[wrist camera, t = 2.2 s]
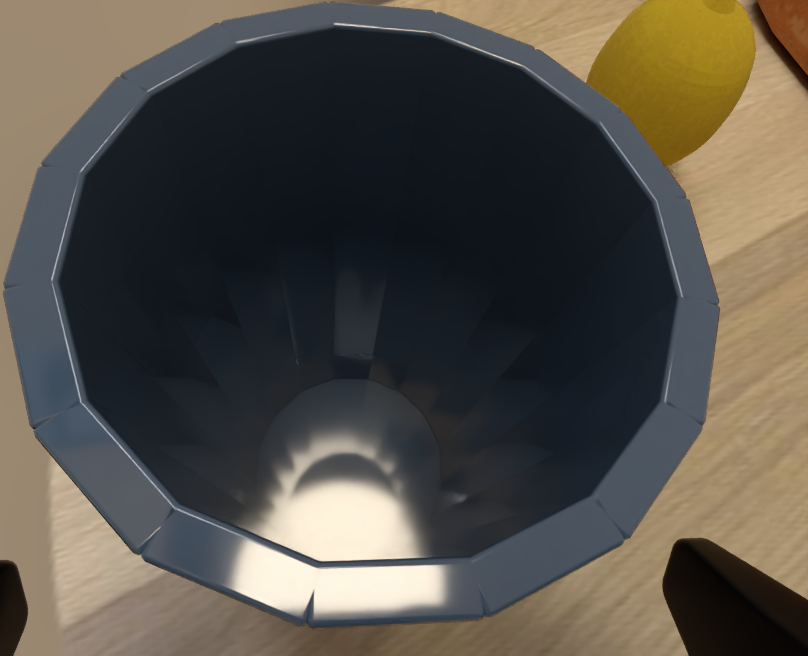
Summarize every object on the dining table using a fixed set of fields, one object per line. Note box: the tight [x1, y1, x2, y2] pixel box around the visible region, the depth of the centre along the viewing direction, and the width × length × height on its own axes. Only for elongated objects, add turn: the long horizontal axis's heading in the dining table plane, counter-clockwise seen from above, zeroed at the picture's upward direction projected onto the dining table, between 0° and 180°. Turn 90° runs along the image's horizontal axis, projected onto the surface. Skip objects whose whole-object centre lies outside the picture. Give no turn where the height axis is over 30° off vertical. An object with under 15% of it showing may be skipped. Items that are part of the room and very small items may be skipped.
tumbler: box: [3, 1, 720, 629], centre depth 12 cm, size 7×7×14 cm
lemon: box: [586, 0, 756, 166], centre depth 21 cm, size 6×6×8 cm
